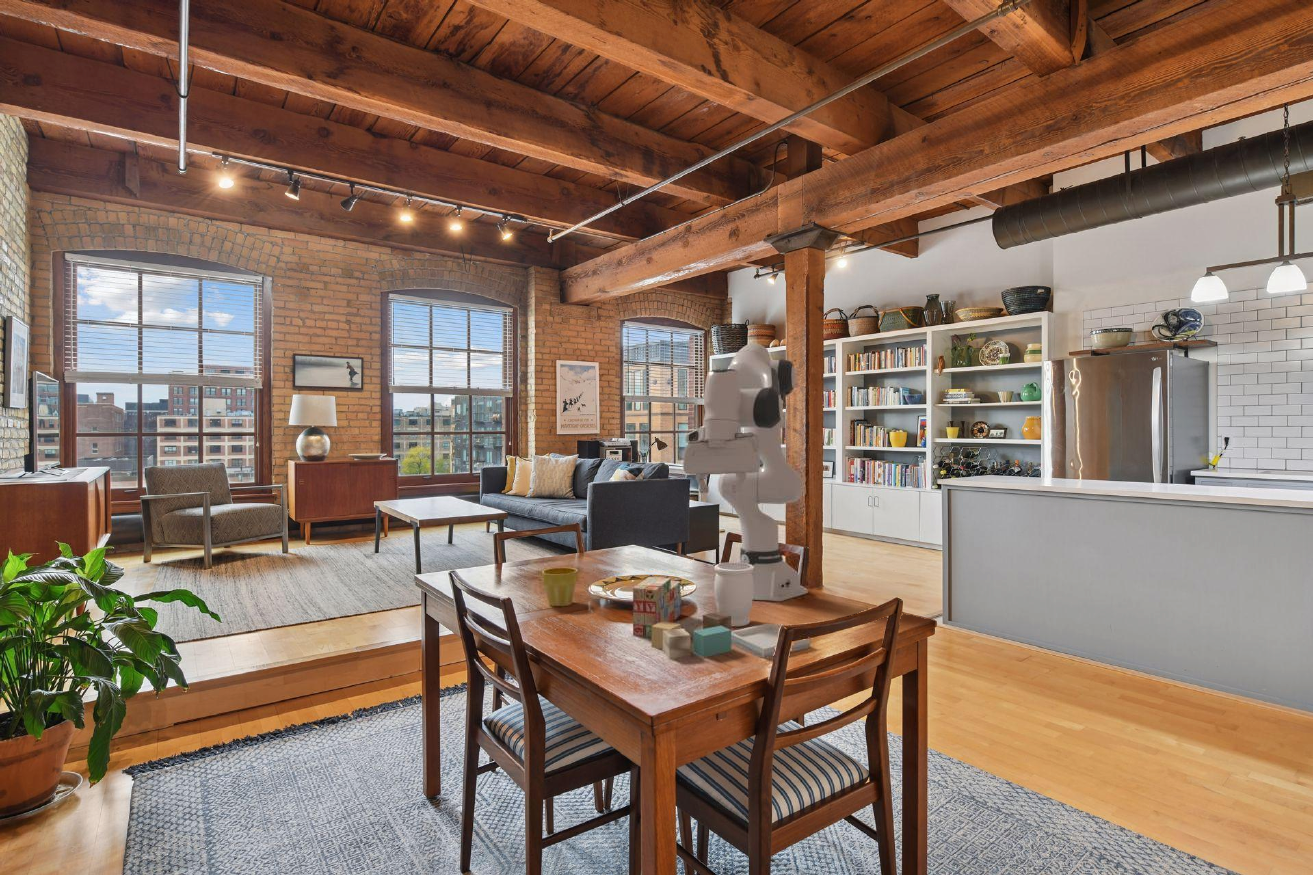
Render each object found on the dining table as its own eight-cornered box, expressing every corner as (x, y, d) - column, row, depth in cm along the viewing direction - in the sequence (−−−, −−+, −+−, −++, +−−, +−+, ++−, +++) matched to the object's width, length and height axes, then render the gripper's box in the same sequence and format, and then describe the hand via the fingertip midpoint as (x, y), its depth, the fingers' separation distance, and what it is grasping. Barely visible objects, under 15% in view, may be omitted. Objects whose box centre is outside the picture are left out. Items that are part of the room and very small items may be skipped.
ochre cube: (663, 641, 164) (663, 620, 164) (680, 644, 161) (680, 624, 161) (651, 647, 160) (651, 626, 159) (669, 650, 157) (669, 629, 157)
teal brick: (721, 646, 160) (721, 625, 160) (731, 651, 157) (731, 630, 156) (693, 652, 156) (693, 631, 156) (703, 657, 152) (703, 635, 152)
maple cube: (683, 649, 158) (683, 628, 158) (690, 656, 153) (690, 635, 153) (662, 651, 156) (662, 630, 156) (669, 659, 152) (669, 637, 151)
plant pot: (546, 598, 202) (546, 566, 202) (580, 599, 202) (580, 566, 202) (538, 608, 192) (538, 574, 192) (575, 608, 191) (574, 574, 191)
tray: (770, 631, 171) (770, 622, 171) (809, 647, 159) (809, 638, 159) (726, 641, 163) (726, 632, 163) (763, 658, 151) (763, 648, 151)
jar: (724, 614, 186) (724, 560, 185) (759, 620, 180) (760, 564, 180) (707, 624, 177) (707, 567, 176) (744, 630, 171) (744, 572, 171)
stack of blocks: (659, 612, 188) (659, 568, 188) (681, 614, 186) (681, 570, 186) (632, 635, 168) (632, 586, 168) (656, 638, 166) (656, 588, 166)
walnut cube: (716, 630, 172) (716, 611, 172) (731, 635, 168) (731, 615, 168) (702, 634, 168) (702, 615, 168) (717, 639, 165) (717, 619, 164)
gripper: (766, 433, 156) (765, 493, 154) (696, 439, 169) (694, 494, 167) (750, 429, 151) (749, 491, 149) (680, 435, 164) (678, 492, 162)
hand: (719, 493), depth 158 cm, fingers open, 8 cm apart
